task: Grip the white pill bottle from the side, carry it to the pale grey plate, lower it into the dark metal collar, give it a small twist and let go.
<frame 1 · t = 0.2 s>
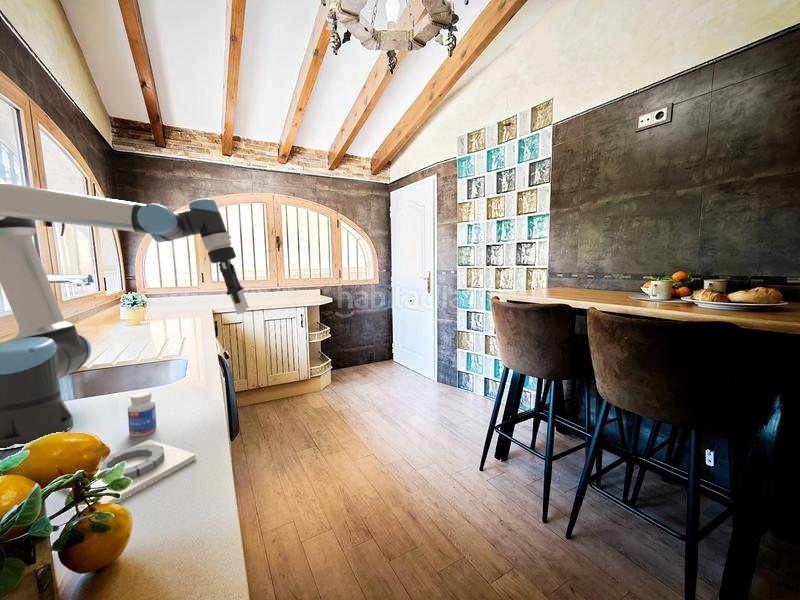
hand: (243, 311, 108), 27 cm above the counter, tool tilted 15°, fingers open, 13 cm apart
pill bottle: (143, 432, 82), on the counter
collar plate: (131, 471, 66), on the counter
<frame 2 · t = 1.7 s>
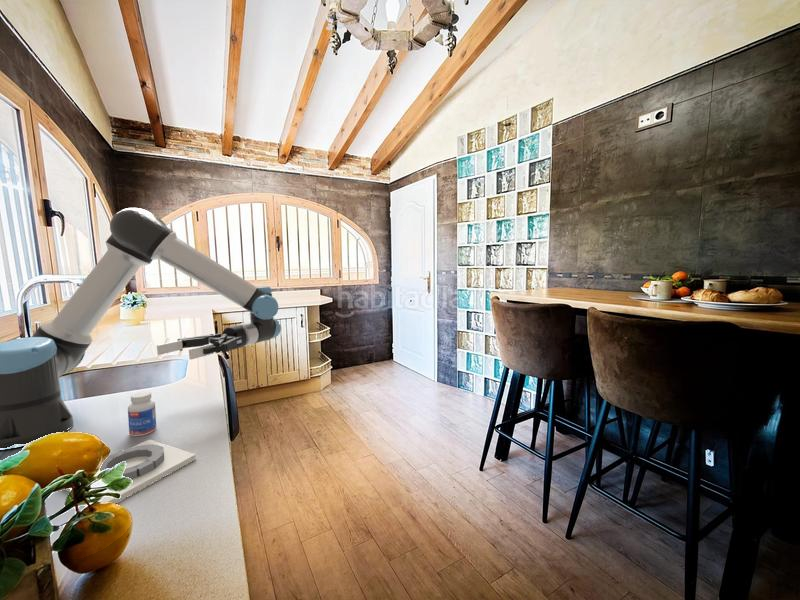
hand: (173, 352, 88), 18 cm above the counter, tool horizontal, fingers open, 13 cm apart
nothing on the counter moved.
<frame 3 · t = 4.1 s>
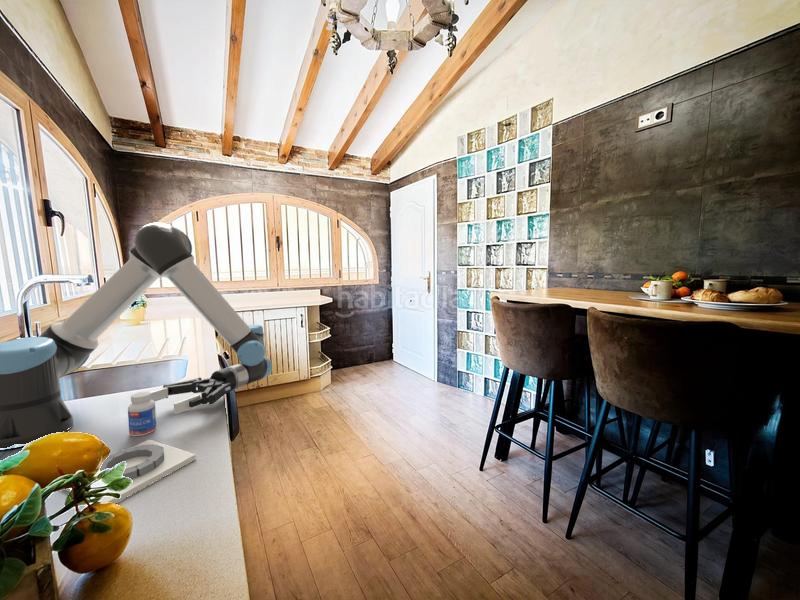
hand: (157, 404, 85), 6 cm above the counter, tool horizontal, fingers open, 13 cm apart
nothing on the counter moved.
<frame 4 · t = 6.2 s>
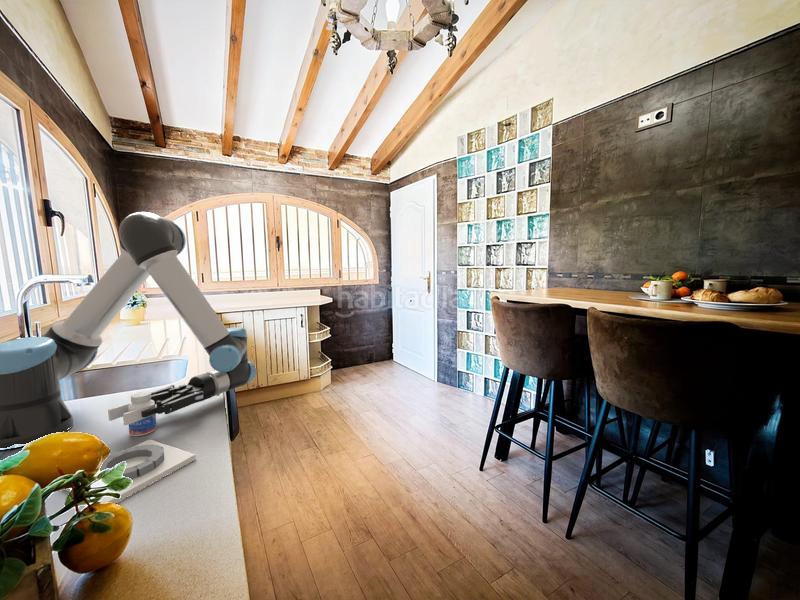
hand: (116, 417, 77), 6 cm above the counter, tool horizontal, fingers closed on pill bottle, 5 cm apart
pill bottle: (143, 432, 82), on the counter, touching gripper
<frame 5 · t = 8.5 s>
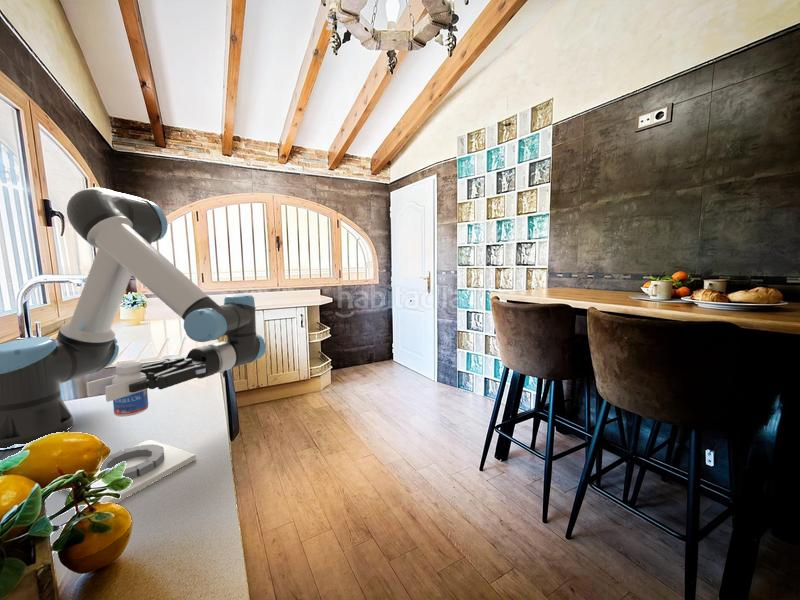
hand: (97, 391, 61), 18 cm above the counter, tool horizontal, fingers closed on pill bottle, 5 cm apart
pill bottle: (132, 412, 66), point 12 cm above the counter, touching gripper
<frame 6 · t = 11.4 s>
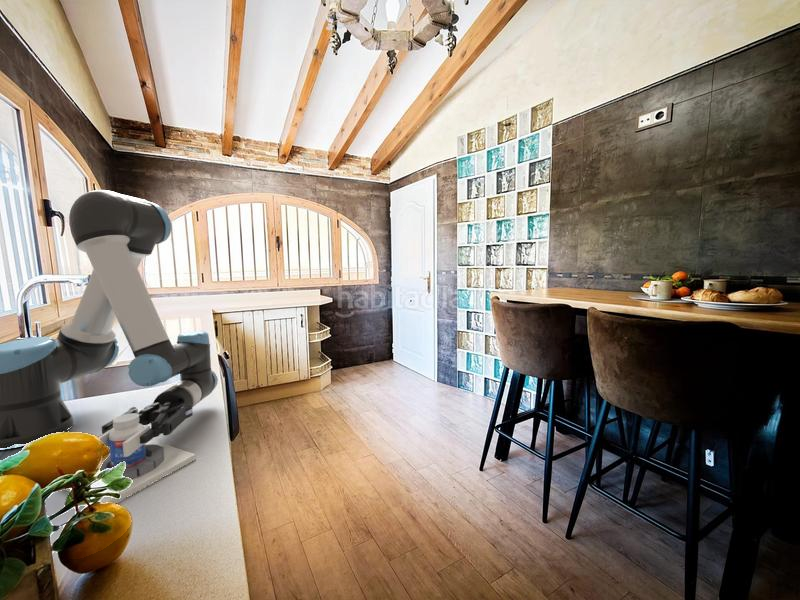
hand: (107, 450, 60), 8 cm above the counter, tool horizontal, fingers closed on pill bottle, 5 cm apart
pill bottle: (129, 464, 66), point 2 cm above the counter, touching gripper
when the fingers open (8 cm above the counter, at t = 11.4 s): pill bottle stays where it is, resting on collar plate.
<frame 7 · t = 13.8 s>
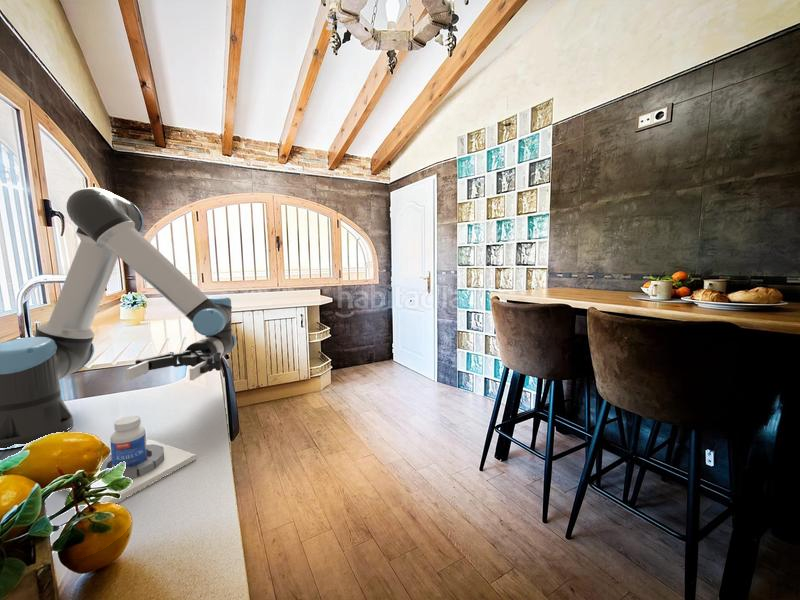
hand: (159, 374, 75), 16 cm above the counter, tool horizontal, fingers open, 13 cm apart
pill bottle: (130, 467, 66), point 1 cm above the counter, touching collar plate
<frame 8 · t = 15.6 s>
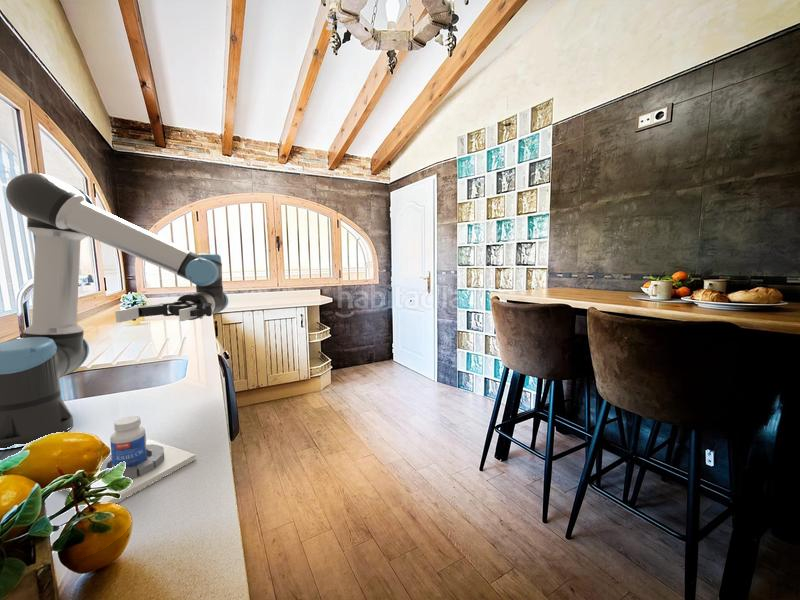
hand: (149, 316, 76), 30 cm above the counter, tool horizontal, fingers open, 13 cm apart
nothing on the counter moved.
at the end: pill bottle 0.1 cm from the collar plate (horizontally); pill bottle tilted 0°; the gripper is holding nothing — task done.
